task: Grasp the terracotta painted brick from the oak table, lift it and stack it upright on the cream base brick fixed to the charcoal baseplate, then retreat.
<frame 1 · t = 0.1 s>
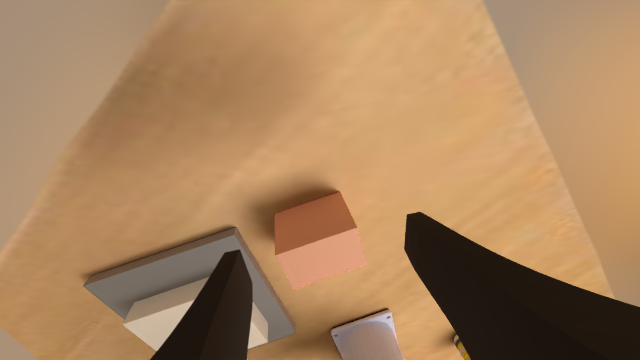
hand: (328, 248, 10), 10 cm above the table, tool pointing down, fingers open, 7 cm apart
brick: (313, 219, 22), on the table
supplement bottle: (465, 333, 38), on the table
tower base: (209, 304, 25), on the table
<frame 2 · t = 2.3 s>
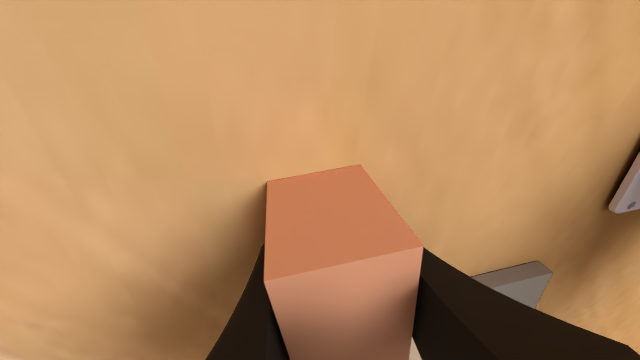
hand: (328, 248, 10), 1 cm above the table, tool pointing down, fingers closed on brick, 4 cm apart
brick: (322, 227, 12), on the table, touching gripper
tower base: (417, 343, 19), on the table
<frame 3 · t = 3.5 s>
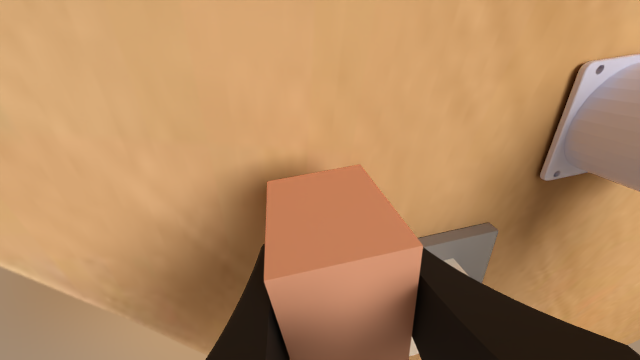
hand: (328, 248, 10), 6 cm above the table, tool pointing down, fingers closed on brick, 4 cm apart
brick: (322, 227, 12), point 4 cm above the table, touching gripper
tower base: (393, 295, 22), on the table
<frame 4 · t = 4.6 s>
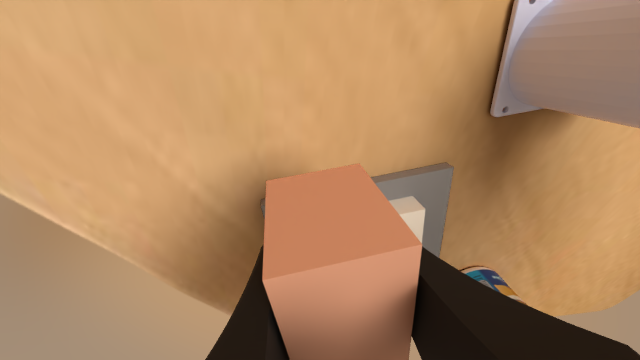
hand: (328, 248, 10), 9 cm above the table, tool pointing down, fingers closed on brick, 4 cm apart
brick: (321, 226, 12), point 8 cm above the table, touching gripper
tower base: (360, 238, 23), on the table
beverage bottle: (462, 286, 31), on the table
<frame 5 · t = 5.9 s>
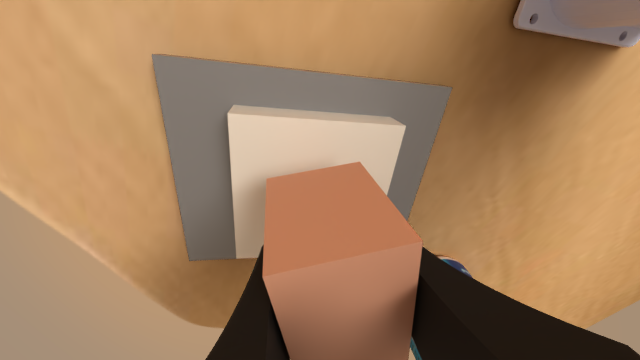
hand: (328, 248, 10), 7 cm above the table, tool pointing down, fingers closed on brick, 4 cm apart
brick: (321, 225, 12), point 6 cm above the table, touching gripper
tower base: (307, 174, 17), on the table
beverage bottle: (422, 281, 25), on the table
when the fingers open (5 cm above the table, at t = 7.1 s): brick stays where it is, resting on tower base.
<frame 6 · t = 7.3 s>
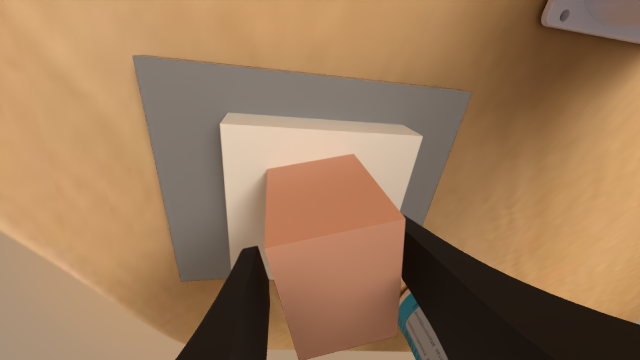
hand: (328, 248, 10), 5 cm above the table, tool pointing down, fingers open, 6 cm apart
brick: (318, 213, 12), point 3 cm above the table, touching tower base
tower base: (310, 187, 15), on the table
beverage bottle: (431, 296, 23), on the table
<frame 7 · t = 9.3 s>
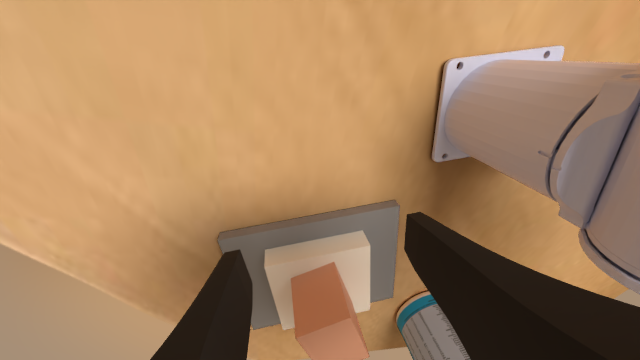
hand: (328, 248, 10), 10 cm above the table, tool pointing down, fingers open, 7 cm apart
brick: (323, 290, 22), point 3 cm above the table, touching tower base
tower base: (318, 265, 25), on the table
beverage bottle: (422, 307, 32), on the table
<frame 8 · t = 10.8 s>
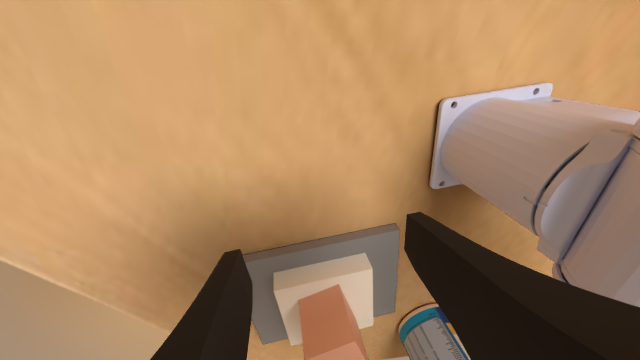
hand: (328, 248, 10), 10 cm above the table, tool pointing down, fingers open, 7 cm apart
brick: (328, 309, 24), point 3 cm above the table, touching tower base
tower base: (323, 284, 26), on the table
beverage bottle: (423, 319, 34), on the table
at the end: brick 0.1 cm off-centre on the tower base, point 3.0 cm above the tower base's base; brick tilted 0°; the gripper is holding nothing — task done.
